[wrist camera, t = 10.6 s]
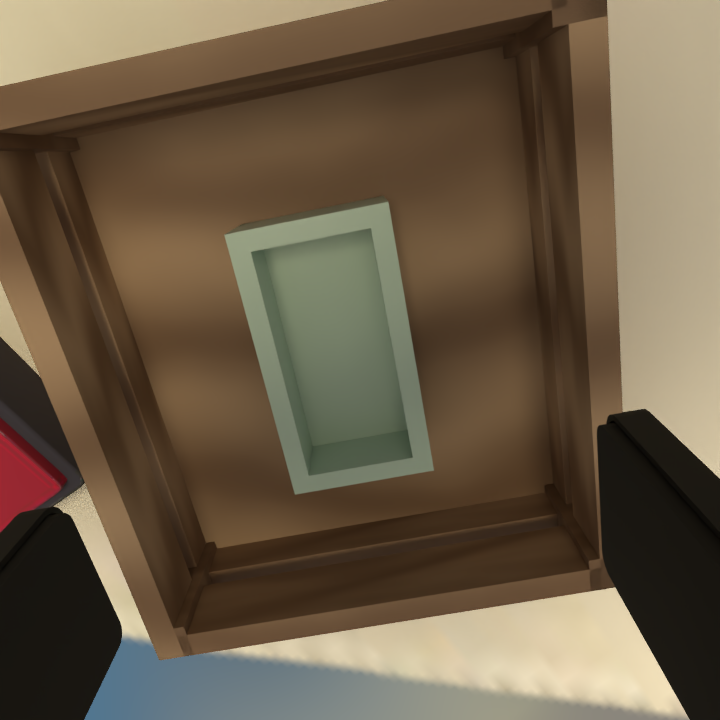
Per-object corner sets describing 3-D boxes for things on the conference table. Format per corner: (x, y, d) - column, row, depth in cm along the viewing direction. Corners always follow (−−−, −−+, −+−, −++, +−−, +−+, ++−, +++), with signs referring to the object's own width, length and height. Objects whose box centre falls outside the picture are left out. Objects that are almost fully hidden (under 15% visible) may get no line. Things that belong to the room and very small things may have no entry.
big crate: (42, 117, 21) (-75, 102, 15) (532, 11, 20) (605, -48, 14) (199, 556, 27) (159, 660, 22) (569, 493, 26) (629, 585, 21)
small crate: (241, 224, 21) (224, 234, 18) (383, 195, 21) (388, 201, 18) (301, 455, 24) (294, 494, 22) (424, 433, 24) (433, 470, 21)
